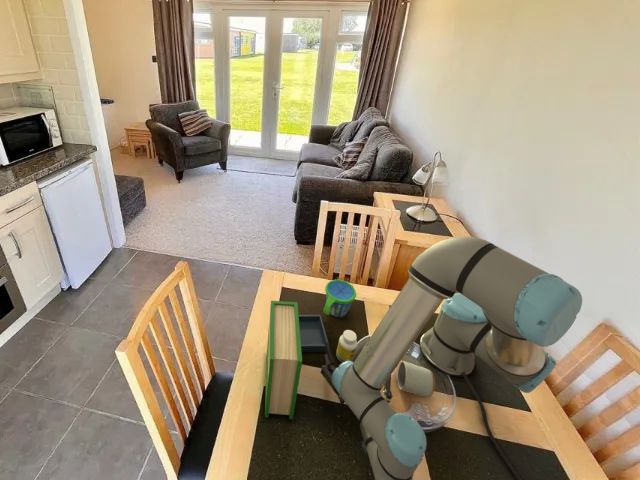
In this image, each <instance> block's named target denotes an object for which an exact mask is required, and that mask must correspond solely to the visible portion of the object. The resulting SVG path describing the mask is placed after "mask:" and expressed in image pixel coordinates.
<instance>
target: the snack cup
mask: <svg viewBox="0 0 640 480" xmlns="http://www.w3.org/2000/svg"><path fill="white" fill-rule="evenodd" d="M324 290H325V294H326V296H325V298H326V299H325V301H326V302H325V305H324V307H323V309H322V312H323V313H324V314H325V315H326V316H333V317H336V318H344V317H345V316H346V315H347V314H348V312H349V310H350V308H351V305H352V303H353V302H354V301H355V299H356V297H357V291H356V289H355V287H354V285H353V284H352V283H350V282H348V281H345V280H342V279H332V280H330V281H328V282H327V283H326V286H325V287H324Z"/></svg>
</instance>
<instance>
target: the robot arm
mask: <svg viewBox="0 0 640 480" xmlns="http://www.w3.org/2000/svg"><path fill="white" fill-rule="evenodd" d="M407 273H408V276H409V277H408V279H407V281H406V282H405V283H404V284H403V285H404V286H403V287H402V289H401V290H400V291H399V293H398V295H397V296H396V297H395V299H394V301H393V302H392V304H391V305H390V307H389V308H388V309H387V311H386V313H385V314H384V315H383V317H382V318H381V321H380V322H379V323H378V325H377V326H376V328H375V330H374V331H373V333H372V334H371V336H370V337H369V339H368V341H367V342H366V343H365V345H364V346H363V348H362V349H361V351H360V353H359V354H358V356H357V357H356V359H355V360H354V361H346V362H344V363H343V362H341V363H340V364H339V365H338V367H335V366H334V359H333V355H332V352H331V348H330V343H329V342H328V343H329V344H328V343H325V348H324V349H325V352H324V353H325V354H324V356H323V361H324V365H321V369H320V375H322V377H323V379H324V380H325V381H326V383H327V384H328V385H329V387H330V388H331V389H332V390H333V392H334V393H335V395H336V396H337V398H338V401H339V403H340V405H345V404H346V406H348V408H349V409H350V410H351V411H352V413H353V414H354V416H355V417H356V420H357V423H358V424H359V429H360V432H361V436H362V440H363V443H364V446H365V449H366V452H367V456H368V459H369V463H370V466H371V470H372V473H373V476H374V477H373V478H374V480H413V476H414V474H415V472H416V470H417V468H418V466H419V465H420V464H421V463H422V461H423V458H424V455H425V452H426V450H427V436H426V434H425V431H424V429H423V428H422V426H421V425H420V423H419V422H418V421H417V420H416V419H415V418H413V417H411V416H409V415H408V414H406V413H403V412H397V411H396V410H395V409H394V408H393V406H392V405H391V404H390V403H391V402H392V399H393V393H392V388H391V386H392V374H393V373H394V372H395V371H396V369H397V368H398V367H399V365H400V363H401V362H402V361H403V359H404V357H405V356H406V354H407V353H408V351H410V348H411V347H412V346H413V344H414V343H415V341H416V340H417V338H418V337H419V336H420V334H421V333H422V332H423V330H424V328H425V327H426V326H427V324H428V323H429V321H430V320H431V318H432V317H433V316H434V314H435V313H436V311H437V310H438V308H439V307H440V305H441V307H440V310H439V313H438V315H437V317H436V320H435V322H434V325H433V326H432V327H431V328H430V329H429V330H427V331H426V332H425V333H423V335H422V336H421V338H420V341H419V349H420V353H421V355H422V356H423V358H424V359H425V361H426V362H427V363H428V364H429V365H430V366H431V367H433V368H434V369H435V370H437V371H438V372H440V373H442V374H443V375H446V376H448V377H451V378H452V377H453V378H463V379H464V380H465V382H466V384H467V385H468V387H469V389H470V390H471V392H472V393H473V396H474V397H475V399H476V401H477V403H478V405H479V408H480V411H481V416H482V420H483V423H484V428H485V430H486V432H487V435H488V437H489V439H490V440H491V443H492V444H493V447H494V448H495V449H496V451H497V452H498V455H500V457H501V458H502V460H503V461H504V463H505V464H506V466H507V468H508V469H509V471H510V472H511V473H512V475H513V476H514V477H515V478H516V480H523V479H522V477H521V476H520V473H518V472H517V470H516V469H515V467H514V466H513V464H512V463H511V462H510V461H509V459H508V457H507V456H506V455H505V453H504V452H503V450H502V449H501V447H500V446H499V443H498V442H497V440H496V438H495V437H494V435H493V432H492V430H491V428H490V425H489V422H488V416H487V412H486V409H485V406H484V404H483V402H482V399H481V398H480V396H479V394H478V392H477V390H476V389H475V388H474V386H473V384H472V382H471V381H470V379H469V377H468V376H469V375H471V373H472V372H473V370H474V368H475V364H476V363H475V362H476V361H475V360H476V359H475V358H476V357H477V358H479V359H480V360H481V361H483V362H484V363H485V364H486V365H487V366H489V367H490V368H491V369H493V370H494V371H495V372H496V373H497V374H499V375H500V376H501V377H502V378H504V379H505V380H506V381H507V382H508V383H510V385H511V386H513V387H515V388H516V389H518V390H519V391H521V392H522V393H525V394H529V393H531V392H533V391H535V389H536V388H537V387H538V386H540V385H541V384H542V383H543V382H544V381H545V380H546V379H547V378H548V377H549V375H550V374H551V373H552V372H553V370H554V369H555V367H556V366H557V361H556V359H555V358H554V357H552V356H551V355H550V353H548V352H547V351H545V350H544V348H547V347H549V346H552V345H554V344H557V342H559V341H560V340H561V339H562V338H563V337H564V336H565V335H566V334H567V332H568V331H569V330H570V328H572V326H573V325H574V323H575V321H576V319H577V316H578V314H579V313H580V312H581V308H582V305H583V296H582V293H581V292H580V291H579V289H578V288H576V287H575V286H574V285H572V284H570V283H569V282H567V281H566V280H564V279H563V278H562V277H560V276H559V275H556V274H554V273H549V272H547V271H545V270H544V269H541V268H540V267H537V266H536V265H534V264H532V263H530V262H528V261H526V260H524V259H523V258H520V257H518V256H516V255H514V254H512V253H511V252H509V251H507V250H505V249H504V248H501V247H499V246H497V245H495V244H494V243H492V242H490V241H488V240H486V239H483V238H479V237H475V236H455V237H450V238H447V239H444V240H441V241H438V242H437V243H435V244H433V245H431V246H430V247H428V248H426V249H425V250H424V251H423V252H421V253H420V254H419V255H417V257H416V258H415V259H414V260H413V262H412V264H411V265H410V267H409V268H408V269H407ZM443 301H444V302H443ZM382 389H383V391H382V393H381V390H382Z"/></svg>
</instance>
